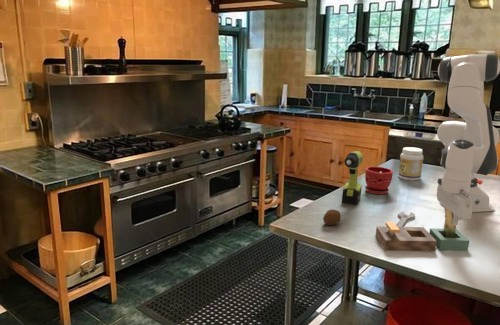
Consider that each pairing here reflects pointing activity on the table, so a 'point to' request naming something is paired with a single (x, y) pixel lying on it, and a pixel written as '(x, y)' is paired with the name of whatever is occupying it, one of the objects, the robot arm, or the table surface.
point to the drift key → (392, 228)
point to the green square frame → (450, 240)
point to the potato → (332, 217)
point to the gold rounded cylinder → (449, 225)
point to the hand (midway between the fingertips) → (450, 221)
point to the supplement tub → (411, 163)
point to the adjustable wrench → (404, 218)
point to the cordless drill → (352, 179)
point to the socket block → (406, 239)
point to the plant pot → (378, 179)
